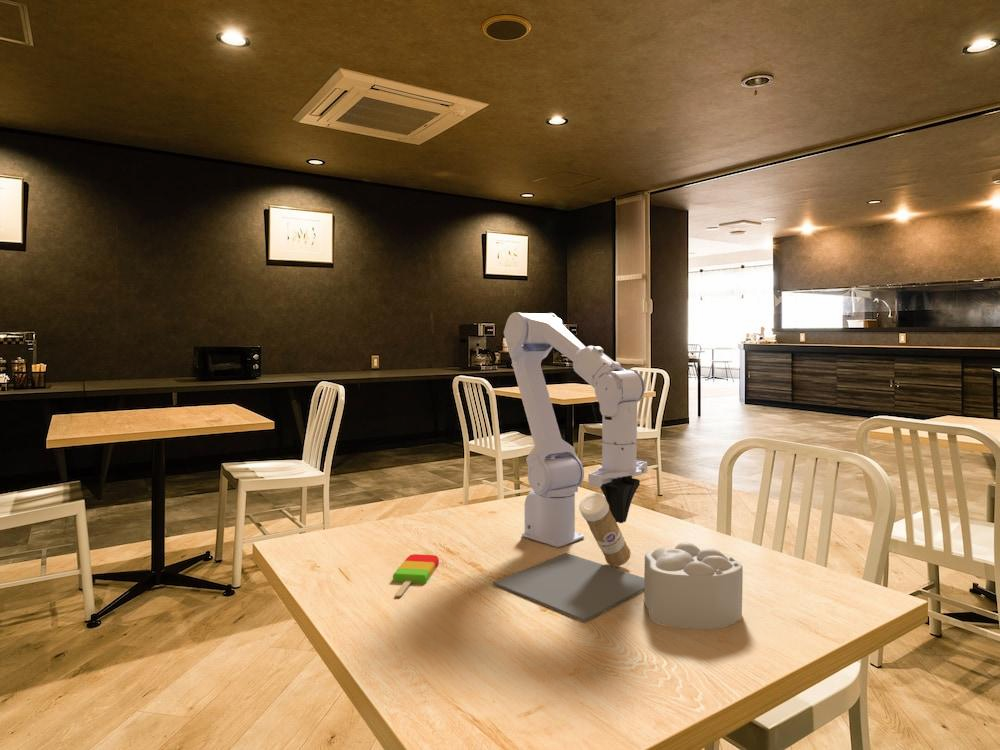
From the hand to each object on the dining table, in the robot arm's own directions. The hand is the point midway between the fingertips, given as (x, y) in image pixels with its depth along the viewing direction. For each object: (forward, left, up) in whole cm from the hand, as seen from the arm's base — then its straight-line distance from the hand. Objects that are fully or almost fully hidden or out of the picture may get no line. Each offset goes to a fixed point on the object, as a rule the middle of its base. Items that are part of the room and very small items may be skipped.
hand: (618, 521), depth 104 cm
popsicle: (-20, -28, -8) cm, 36 cm away
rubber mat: (0, -12, -7) cm, 14 cm away
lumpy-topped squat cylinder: (+18, -7, -8) cm, 21 cm away
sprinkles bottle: (0, 0, -6) cm, 6 cm away
